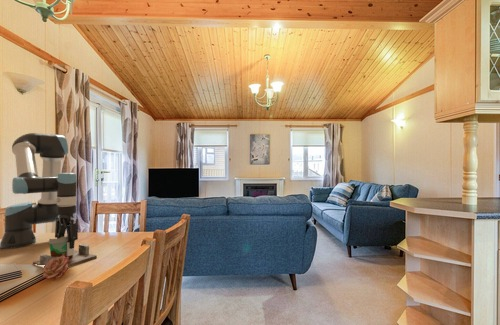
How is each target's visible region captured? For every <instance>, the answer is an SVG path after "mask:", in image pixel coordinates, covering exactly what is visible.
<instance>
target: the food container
mask: <svg viewBox="0 0 500 325" xmlns="http://www.w3.org/2000/svg"><path fill="white" fill-rule="evenodd" d="M67 241H68V236H67V235H64V236H62V237H59V238H49V240H48V244H49V250H50V256H51V259H52V258H57V257H61V256H63V255H64V256H65V257H72V256H73V255H70V256H67ZM75 242H76V240H75V241H74V245H75Z"/></svg>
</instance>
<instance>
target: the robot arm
mask: <svg viewBox="0 0 500 325" xmlns="http://www.w3.org/2000/svg"><path fill="white" fill-rule="evenodd" d="M68 144H69V143H68V139H67V138H66V137H65V135H60V134H53V133H52V134H50V133H37V132H31V133H30V132H28V133H25V134H23V135H20V136H19V137H17V138H16V139H15V140H14V141H13V143H12V145H11V151H12V153H13V155H14V156H15V167H16V175H17V177H12V182H11V184H12V185H11V187H12V188H11V189H12V190H11V191H12V194H15V195H18V194H23V195H26V194H38V193H40V199H39V200H38V201H37V204H34V203H33V202H29V201H28V202H21V203H17V204H12V205H9V206H7V207H6V208H5V210H4V233H3V236H2V238H1V240H0V249H4V250H5V249H7V250H8V249H17V248H22V247H29V246H31V245H34V244H36V242H37V238H36V236H35V233H34V230H33V225H39V224H41V225H42V224H46V223H55V230H54V237H55V238H54V239H57V238H59V237H62V236H68V241H67V256H70V255H74V250H75V244H74V241H75V242H76V241H77V240H78V239H79V237H78V235H79V234H78V221H79V219H78V218H74V214H76V212H77V205H76V204H77V188H78V187H77V181H78V179H77V173H75V172H61V171H62V170H61V167H62V160H63V159H64V158H65V156H67V155H68V154H69V145H68ZM36 154H37V155H38V154H39V157H40V159H42V172H41V176H39V172H38V168H37V161H36V157H35V155H36ZM65 234H67V235H65Z"/></svg>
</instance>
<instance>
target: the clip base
mask: <svg viewBox="0 0 500 325" xmlns="http://www.w3.org/2000/svg"><path fill="white" fill-rule="evenodd" d="M97 256H98V255H96V254H92V253H90V245H88V244H84V243H83V244H82V243H80V244H78V250H75V249H74V255H73V256H72V257H69V260H68V268H70V267H73V266H77V265H80V264H83V263H86V262H90V261H92V260H95V259H97ZM50 259H51V255H48V254H44V253H43V254H39V259H38V260H35V261H32V265H33V264H37V265H46V264H47V263H48V262H49V261H50Z"/></svg>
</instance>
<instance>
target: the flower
mask: <svg viewBox="0 0 500 325" xmlns="http://www.w3.org/2000/svg"><path fill="white" fill-rule="evenodd" d="M68 260H69V257H65V256H64V255H63V256H61V257H57V258H52V259H50V261H49V262H48V263H47V264H46V265H45V266H44V268H42V270H43V274H42V275H43V277H42V278H46V279H52V278H53V281H56V280H57V279H58V278H60V277H61V276H62V275H65V272H67V271H68V270H69V269H70V267H68Z"/></svg>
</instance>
